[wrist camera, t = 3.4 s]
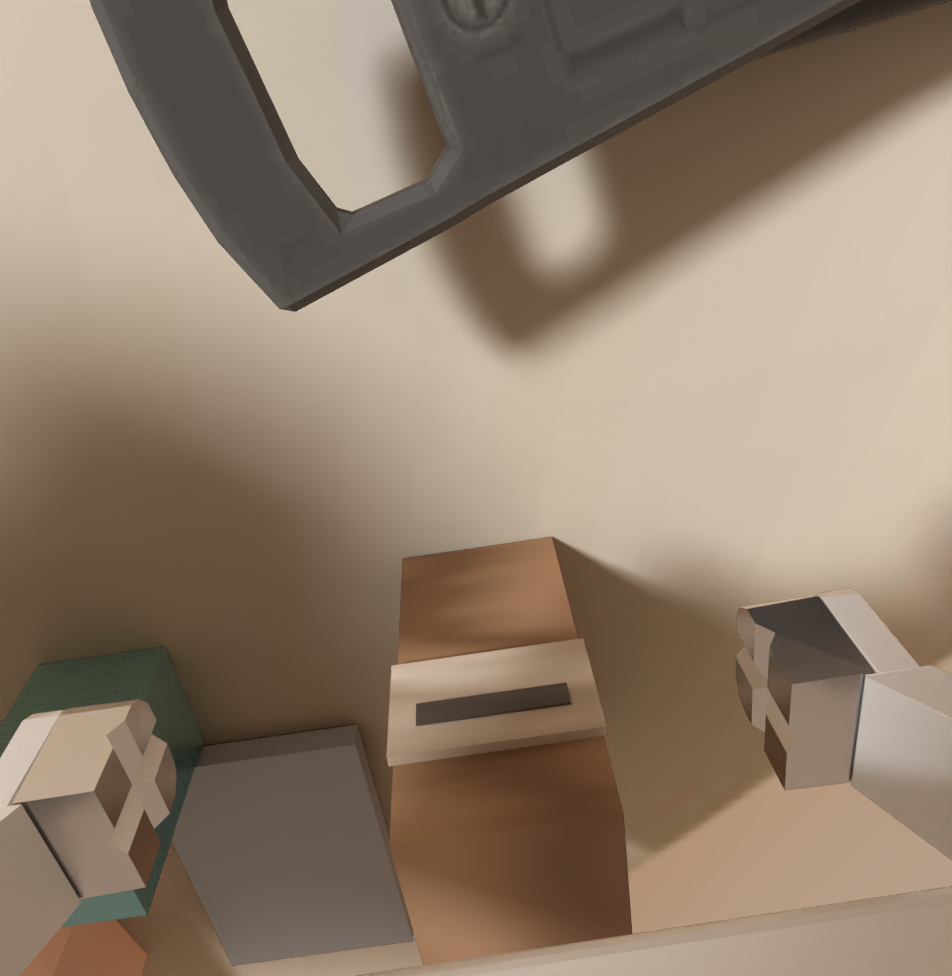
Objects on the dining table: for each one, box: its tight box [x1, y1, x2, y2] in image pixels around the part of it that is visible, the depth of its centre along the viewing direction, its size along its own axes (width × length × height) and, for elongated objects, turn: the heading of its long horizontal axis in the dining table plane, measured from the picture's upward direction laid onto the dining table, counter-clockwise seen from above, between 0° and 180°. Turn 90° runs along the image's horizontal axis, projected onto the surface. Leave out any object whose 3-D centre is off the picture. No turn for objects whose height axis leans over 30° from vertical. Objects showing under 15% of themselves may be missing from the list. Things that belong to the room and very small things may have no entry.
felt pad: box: [171, 724, 413, 966], centre depth 33 cm, size 8×12×1 cm, turn 8°
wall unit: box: [386, 537, 632, 965], centre depth 24 cm, size 5×10×11 cm, turn 8°
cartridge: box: [0, 646, 204, 927], centre depth 26 cm, size 4×4×7 cm
